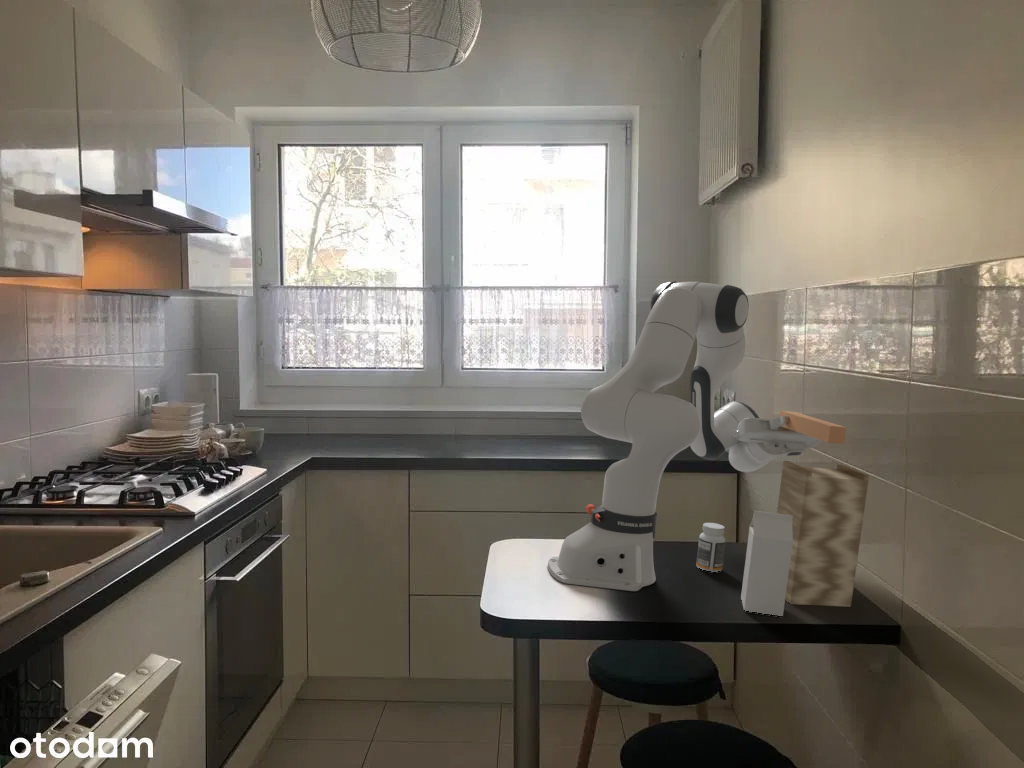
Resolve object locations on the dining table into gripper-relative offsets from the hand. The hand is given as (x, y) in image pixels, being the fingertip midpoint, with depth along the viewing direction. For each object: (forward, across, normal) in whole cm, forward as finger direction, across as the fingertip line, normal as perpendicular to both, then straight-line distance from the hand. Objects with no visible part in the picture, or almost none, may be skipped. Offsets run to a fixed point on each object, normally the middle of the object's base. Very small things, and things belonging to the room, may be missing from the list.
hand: (796, 419), depth 175 cm
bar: (+4, 0, +5) cm, 7 cm away
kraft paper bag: (0, -3, +39) cm, 39 cm away
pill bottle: (-13, -19, +32) cm, 40 cm away
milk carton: (+6, -17, +43) cm, 47 cm away
